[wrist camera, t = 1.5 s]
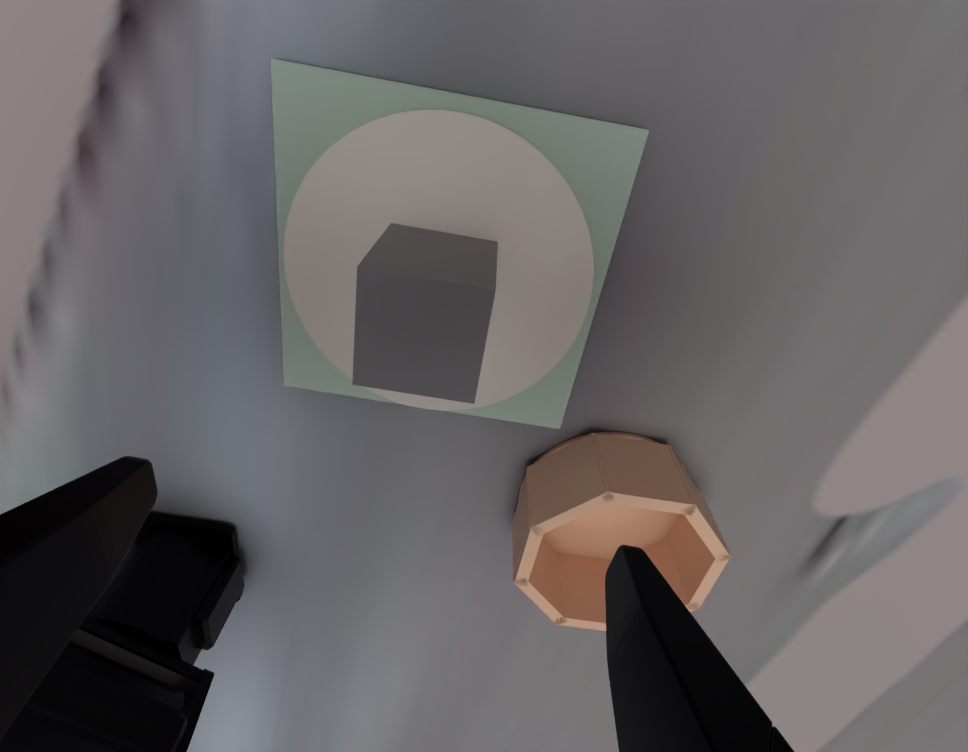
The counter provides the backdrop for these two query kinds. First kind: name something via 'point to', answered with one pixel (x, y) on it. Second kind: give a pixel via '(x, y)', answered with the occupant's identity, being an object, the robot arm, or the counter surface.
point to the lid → (438, 259)
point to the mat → (560, 137)
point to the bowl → (610, 524)
